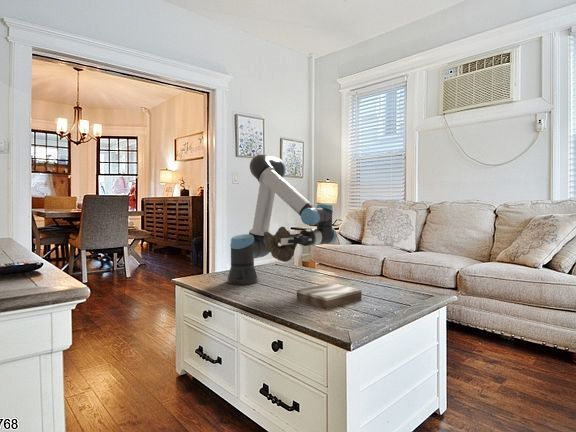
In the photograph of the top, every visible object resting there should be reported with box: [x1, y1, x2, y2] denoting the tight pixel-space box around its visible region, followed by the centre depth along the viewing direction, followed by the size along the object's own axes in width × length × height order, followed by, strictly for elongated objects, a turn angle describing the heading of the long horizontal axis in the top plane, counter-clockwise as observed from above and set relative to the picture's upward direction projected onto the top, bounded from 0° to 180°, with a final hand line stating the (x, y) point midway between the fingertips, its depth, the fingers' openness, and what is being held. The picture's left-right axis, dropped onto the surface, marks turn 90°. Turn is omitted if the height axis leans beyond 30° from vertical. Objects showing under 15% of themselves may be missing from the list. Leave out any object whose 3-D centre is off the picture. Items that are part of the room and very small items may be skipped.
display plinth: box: [296, 282, 362, 309], centre depth 152 cm, size 17×21×4 cm
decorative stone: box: [264, 226, 298, 263], centre depth 158 cm, size 16×11×15 cm
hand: (272, 240), depth 155 cm, fingers closed on decorative stone, 11 cm apart
